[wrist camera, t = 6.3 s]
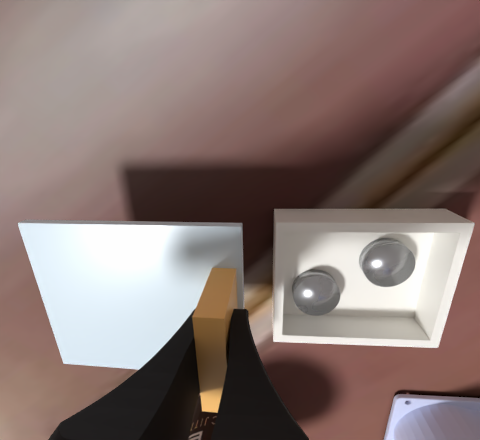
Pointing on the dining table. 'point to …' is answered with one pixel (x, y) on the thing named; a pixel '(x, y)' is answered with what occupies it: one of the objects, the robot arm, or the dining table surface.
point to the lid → (139, 290)
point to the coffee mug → (202, 423)
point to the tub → (355, 282)
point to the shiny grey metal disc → (387, 262)
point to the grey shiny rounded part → (315, 292)
